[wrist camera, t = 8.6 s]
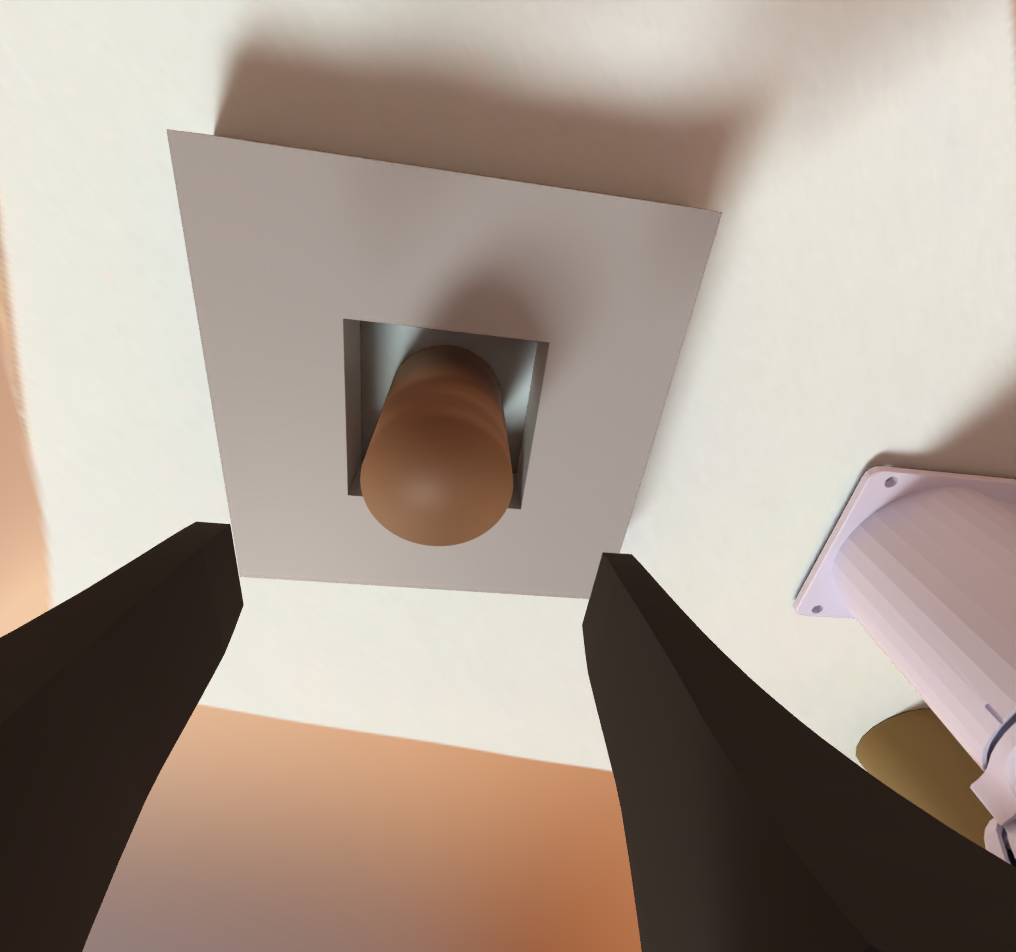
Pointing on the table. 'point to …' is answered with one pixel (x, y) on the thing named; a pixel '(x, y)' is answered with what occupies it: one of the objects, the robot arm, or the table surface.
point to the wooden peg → (439, 450)
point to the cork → (927, 769)
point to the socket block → (435, 305)
